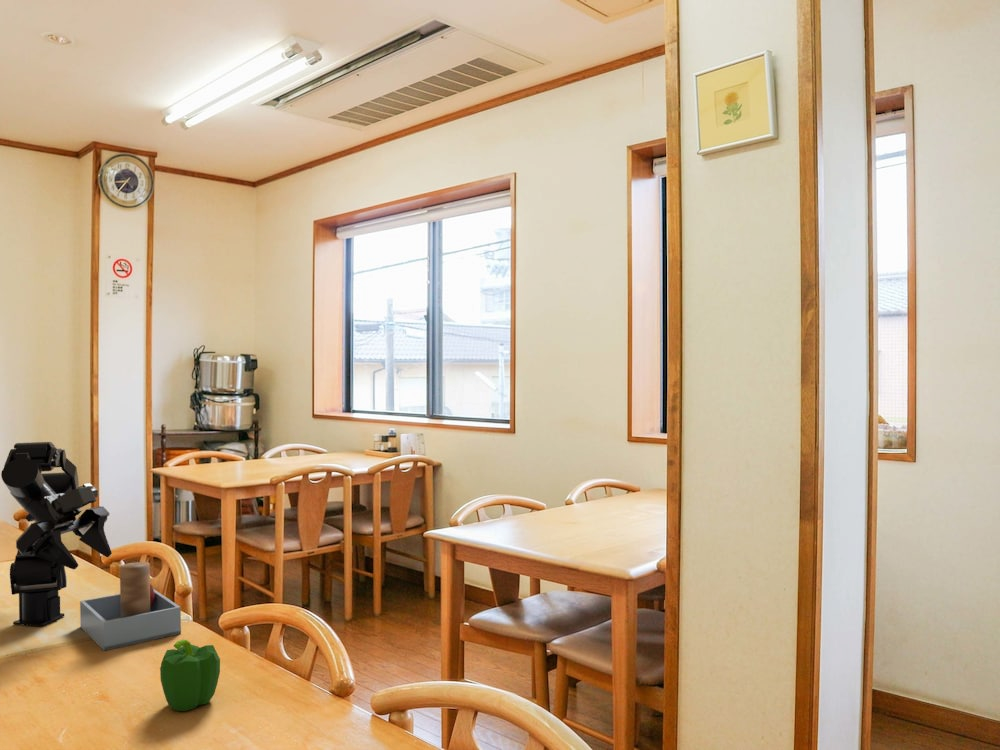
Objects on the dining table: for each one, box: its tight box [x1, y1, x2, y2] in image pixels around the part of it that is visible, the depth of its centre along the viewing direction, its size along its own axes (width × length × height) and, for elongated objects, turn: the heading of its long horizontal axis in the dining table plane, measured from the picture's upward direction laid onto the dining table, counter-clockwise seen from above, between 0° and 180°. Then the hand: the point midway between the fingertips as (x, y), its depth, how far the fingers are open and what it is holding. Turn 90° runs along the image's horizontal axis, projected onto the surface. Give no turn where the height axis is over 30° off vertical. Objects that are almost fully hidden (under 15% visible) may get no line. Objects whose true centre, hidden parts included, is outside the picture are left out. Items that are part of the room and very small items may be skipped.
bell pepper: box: [159, 639, 221, 712], centre depth 115 cm, size 8×8×10 cm
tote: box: [79, 588, 182, 651], centre depth 148 cm, size 17×13×5 cm
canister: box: [119, 561, 151, 618], centre depth 145 cm, size 5×5×12 cm
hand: (93, 561), depth 146 cm, fingers open, 9 cm apart
